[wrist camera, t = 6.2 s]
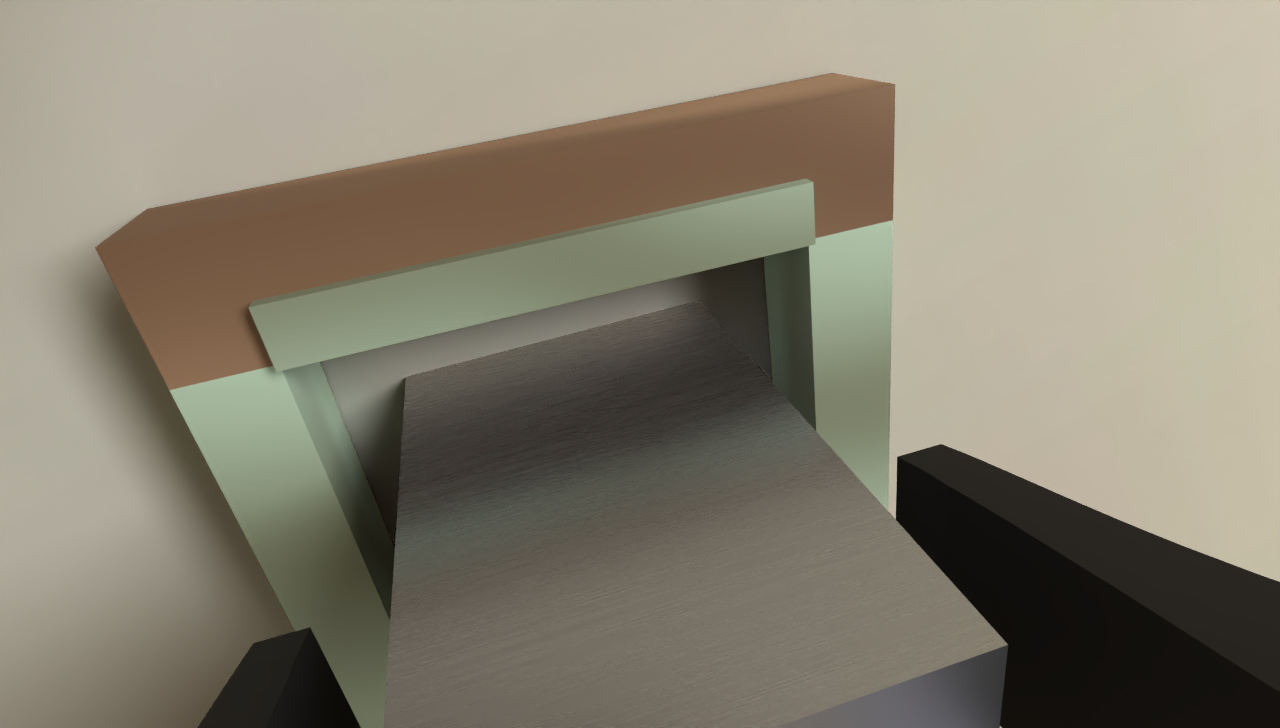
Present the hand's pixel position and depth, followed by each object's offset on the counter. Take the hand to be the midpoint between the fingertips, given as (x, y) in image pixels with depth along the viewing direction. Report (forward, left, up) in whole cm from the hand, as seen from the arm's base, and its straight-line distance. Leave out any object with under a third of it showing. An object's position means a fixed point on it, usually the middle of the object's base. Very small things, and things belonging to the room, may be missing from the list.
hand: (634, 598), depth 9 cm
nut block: (0, 0, -3) cm, 4 cm away
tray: (-5, 0, -3) cm, 6 cm away
